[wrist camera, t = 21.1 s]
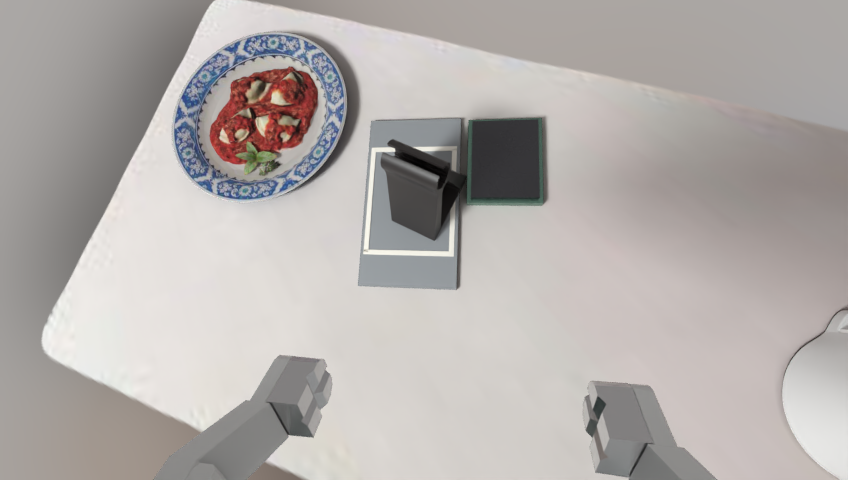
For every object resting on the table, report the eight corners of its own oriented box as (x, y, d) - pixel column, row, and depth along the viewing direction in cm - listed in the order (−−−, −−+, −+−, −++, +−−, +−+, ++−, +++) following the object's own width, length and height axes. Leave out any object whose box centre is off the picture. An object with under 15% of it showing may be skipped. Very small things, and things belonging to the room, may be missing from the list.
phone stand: (425, 159, 45) (407, 106, 33) (467, 177, 43) (464, 129, 32) (392, 221, 44) (361, 189, 32) (434, 241, 42) (418, 215, 31)
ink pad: (540, 122, 44) (542, 115, 43) (541, 205, 42) (544, 201, 41) (468, 124, 46) (468, 117, 44) (466, 205, 43) (466, 201, 42)
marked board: (461, 120, 46) (460, 117, 45) (456, 289, 42) (456, 289, 41) (372, 123, 47) (370, 120, 47) (359, 286, 43) (357, 285, 43)
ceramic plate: (215, 35, 54) (200, 20, 51) (371, 50, 50) (365, 34, 47) (159, 191, 50) (140, 183, 47) (325, 222, 46) (315, 216, 43)
